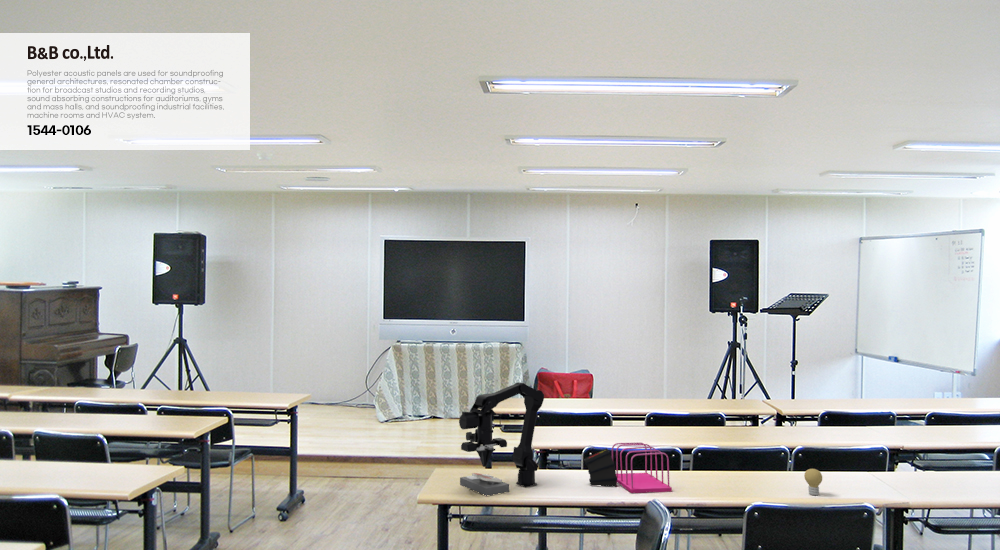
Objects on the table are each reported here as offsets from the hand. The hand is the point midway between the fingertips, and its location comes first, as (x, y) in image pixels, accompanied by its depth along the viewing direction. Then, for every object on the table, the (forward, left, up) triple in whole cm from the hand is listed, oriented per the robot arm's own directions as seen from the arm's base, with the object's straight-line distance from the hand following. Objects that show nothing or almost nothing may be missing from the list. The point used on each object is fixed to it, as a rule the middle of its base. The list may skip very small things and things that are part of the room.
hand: (484, 466), depth 248 cm
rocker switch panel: (-3, -5, -10) cm, 12 cm away
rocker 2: (-3, 0, -5) cm, 6 cm away
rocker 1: (-3, -6, -5) cm, 9 cm away
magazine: (-46, +18, -10) cm, 51 cm away
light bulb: (-107, +75, -10) cm, 131 cm away
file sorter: (-61, +26, -10) cm, 67 cm away
